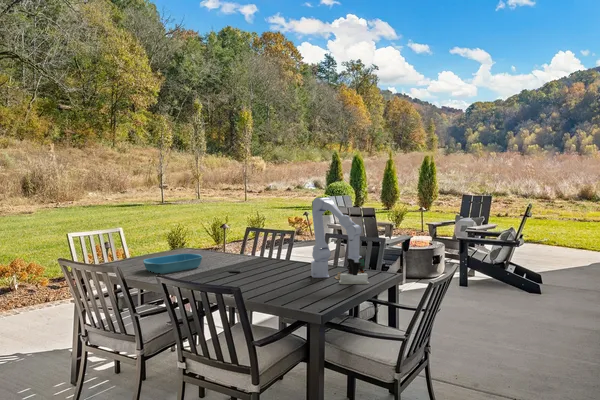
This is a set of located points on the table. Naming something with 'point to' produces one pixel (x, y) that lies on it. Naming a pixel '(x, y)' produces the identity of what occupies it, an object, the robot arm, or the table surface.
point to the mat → (353, 282)
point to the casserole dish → (172, 263)
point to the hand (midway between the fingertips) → (353, 273)
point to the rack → (340, 273)
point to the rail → (354, 278)
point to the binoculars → (360, 266)
